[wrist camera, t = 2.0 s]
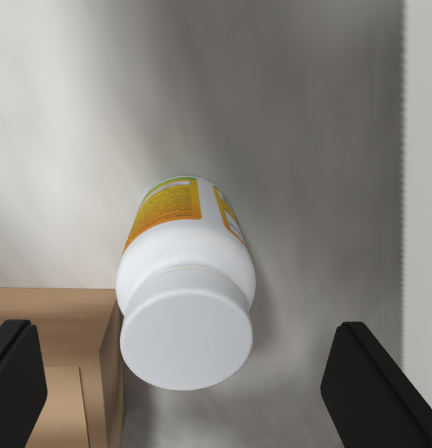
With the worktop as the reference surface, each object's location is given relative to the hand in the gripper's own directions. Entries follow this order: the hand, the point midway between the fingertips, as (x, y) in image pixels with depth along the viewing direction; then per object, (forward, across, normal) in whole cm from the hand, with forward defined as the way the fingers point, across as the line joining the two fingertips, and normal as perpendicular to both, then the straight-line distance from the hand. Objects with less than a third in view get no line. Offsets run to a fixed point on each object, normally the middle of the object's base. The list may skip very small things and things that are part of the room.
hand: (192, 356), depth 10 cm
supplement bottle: (+10, 0, -1) cm, 10 cm away
